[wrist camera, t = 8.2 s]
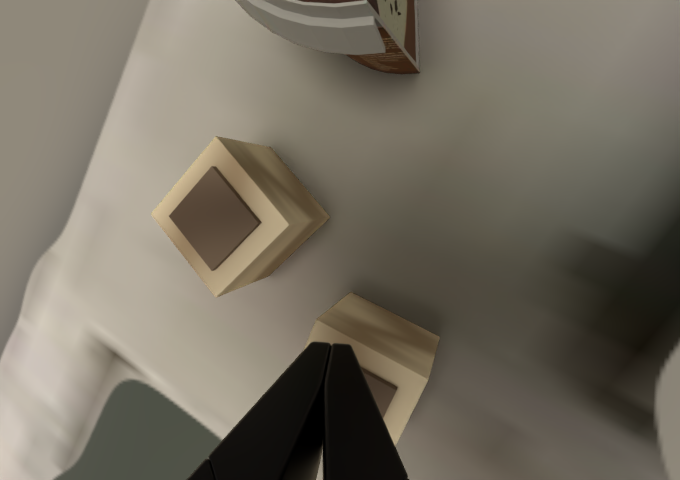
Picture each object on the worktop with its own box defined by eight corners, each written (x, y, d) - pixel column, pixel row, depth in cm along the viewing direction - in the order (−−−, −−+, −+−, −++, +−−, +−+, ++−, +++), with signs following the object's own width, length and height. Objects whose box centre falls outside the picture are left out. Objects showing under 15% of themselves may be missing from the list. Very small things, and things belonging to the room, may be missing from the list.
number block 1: (330, 217, 22) (286, 225, 17) (269, 275, 23) (211, 299, 18) (271, 147, 22) (211, 135, 17) (215, 209, 24) (145, 214, 19)
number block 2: (439, 336, 21) (427, 383, 16) (400, 417, 22) (376, 484, 17) (351, 291, 22) (313, 321, 17) (318, 370, 23) (273, 420, 18)
